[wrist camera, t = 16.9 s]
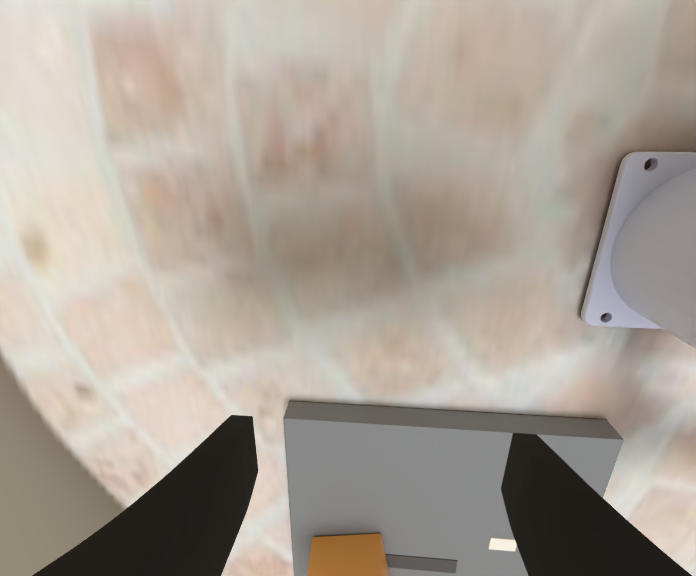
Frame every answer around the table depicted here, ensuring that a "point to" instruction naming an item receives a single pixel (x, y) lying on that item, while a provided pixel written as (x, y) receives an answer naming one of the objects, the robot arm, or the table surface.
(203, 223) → the table surface
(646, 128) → the table surface
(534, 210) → the table surface
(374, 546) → the cap
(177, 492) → the robot arm
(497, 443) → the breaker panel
